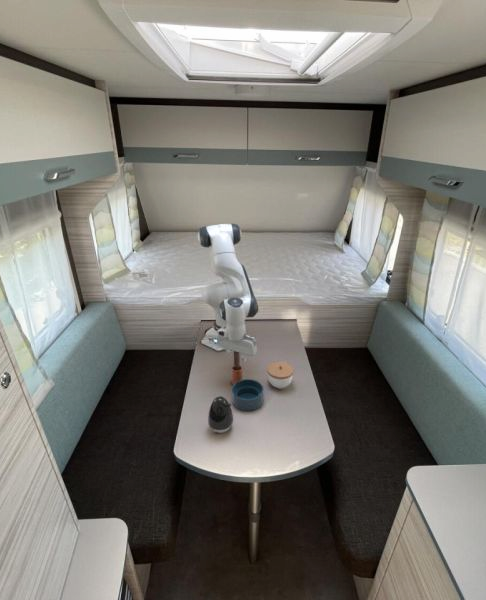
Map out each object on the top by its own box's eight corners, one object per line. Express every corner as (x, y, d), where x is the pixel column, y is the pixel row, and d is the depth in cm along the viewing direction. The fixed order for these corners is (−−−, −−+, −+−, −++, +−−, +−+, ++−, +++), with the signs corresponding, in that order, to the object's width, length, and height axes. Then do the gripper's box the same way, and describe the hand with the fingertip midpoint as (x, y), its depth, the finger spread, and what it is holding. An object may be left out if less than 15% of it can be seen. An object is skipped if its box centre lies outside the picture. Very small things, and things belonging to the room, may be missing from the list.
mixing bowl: (226, 405, 146) (225, 393, 144) (242, 387, 158) (242, 375, 155) (254, 416, 140) (254, 403, 138) (268, 396, 152) (268, 384, 149)
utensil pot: (230, 384, 160) (229, 369, 157) (235, 378, 164) (235, 363, 161) (239, 387, 158) (238, 372, 154) (244, 381, 162) (244, 366, 158)
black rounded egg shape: (223, 441, 128) (222, 410, 122) (203, 430, 133) (201, 400, 127) (238, 424, 136) (237, 395, 130) (218, 415, 141) (217, 386, 135)
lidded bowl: (278, 373, 168) (279, 355, 164) (298, 384, 160) (299, 365, 156) (261, 384, 160) (262, 365, 156) (281, 396, 152) (281, 377, 148)
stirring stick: (234, 382, 160) (233, 351, 153) (236, 380, 162) (235, 349, 155) (238, 383, 160) (237, 352, 152) (240, 381, 161) (239, 350, 154)
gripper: (259, 334, 148) (259, 360, 153) (221, 324, 157) (222, 349, 162) (252, 341, 143) (252, 367, 148) (214, 330, 151) (215, 355, 157)
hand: (236, 358), depth 155 cm, fingers open, 7 cm apart
